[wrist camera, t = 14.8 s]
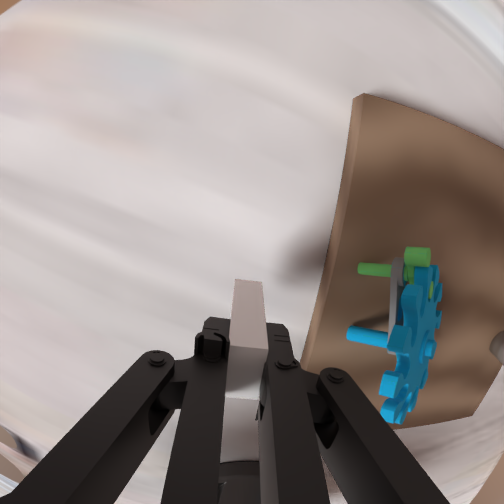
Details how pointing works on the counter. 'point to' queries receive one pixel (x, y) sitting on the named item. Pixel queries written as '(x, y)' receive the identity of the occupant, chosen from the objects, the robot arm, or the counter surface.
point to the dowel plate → (415, 235)
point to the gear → (405, 328)
